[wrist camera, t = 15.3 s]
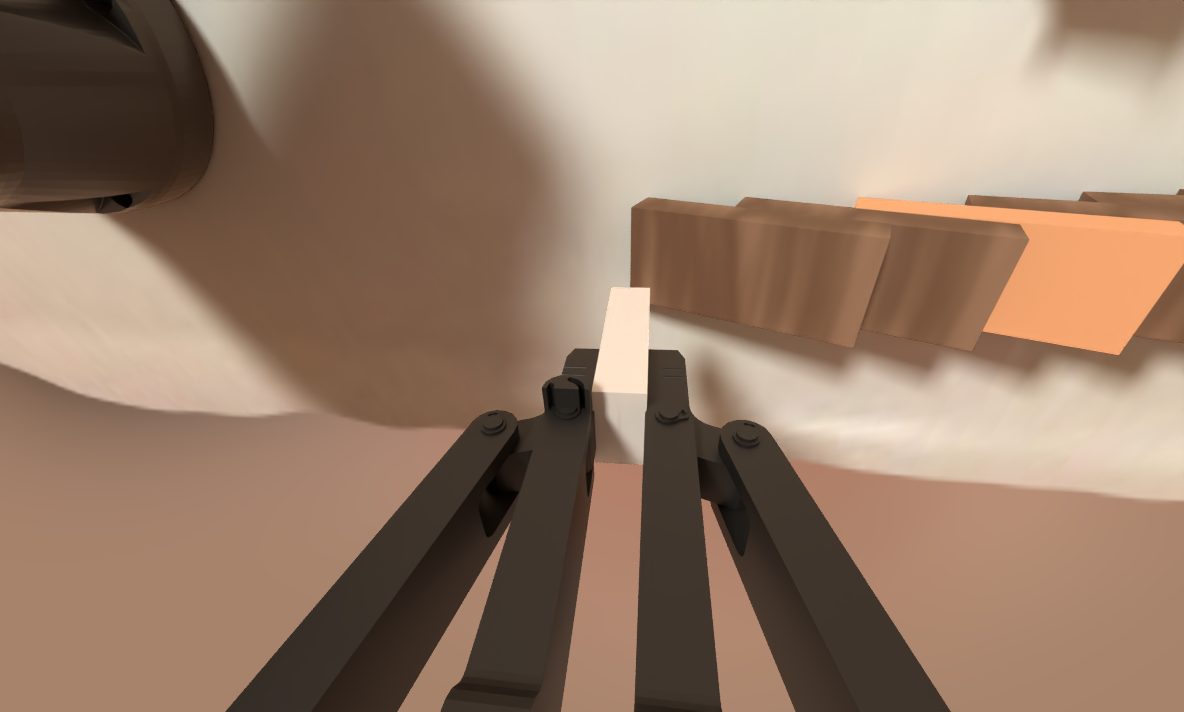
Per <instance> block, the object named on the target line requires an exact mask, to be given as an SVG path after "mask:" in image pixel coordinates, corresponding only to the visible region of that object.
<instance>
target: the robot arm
mask: <svg viewBox="0 0 1184 712" xmlns="http://www.w3.org/2000/svg"><path fill="white" fill-rule="evenodd" d="M212 142H213V116H212V107H211V101H210V96H209V91H208V87H207V83H206V80H205V76H204V73H203V70H202V67H201V64H200V61H199V59H198V56H197V53H196V51H195V49H194V46H193V44H192V42H191V39H190V37H189V35H188V33H187V31H186V29H185V27H184V25H183V23H182V21H181V19H180V17H179V15H178V13H177V12H176V10H175V8H174V7H173V5H172V3H171V1H170V0H0V212H50V213H103V214H107V213H124V212H131V211H136V210H140V209H143V208H147V207H150V206H153V205H157V204H160V203H163V202H166V201H170V200H173V199H175V198H178V197H179V196H181V195H183V194H185V193H186V192H187V191H189V190H190V189H191V188H192V187H193V186H194V185H195V184H196V183H197V182H198V181H199V179H200V178H201V176H202V175H203V173H204V171H205V169H206V167H207V164H208V161H209V158H210V154H211V150H212ZM649 309H650V288H626V287H611V292H610V298H609V303H608V308H607V313H606V319H605V324H604V329H603V334H602V340H601V345H600V349H574V350H573V351H572V352H571V353H570V354H569V355H568V356H567V358H566V362H565V365H564V368H563V372H562V375H560V376H557V377H554V378H551V379H550V380H548V381H547V382H545V384H544V385H543V387H542V392H543V400H544V407H545V412H544V413H543V414H542V415H539V416H537V417H534V418H530V419H525V420H520V421H517V419H516V417H515V416H514V415H513V414H512V413H509V412H507V411H499V410H496V411H491V412H487V413H485V414H482V415H480V416H479V417H478V418H476V419H475V420H474V421H473V422H472V423H471V424H470V426H469V427H468V428H467V429H466V430H465V431H464V433H463V434H462V435H461V436H460V437H459V438H458V440H457V441H456V442H455V443H454V444H453V446H452V447H451V448H450V449H449V450H448V451H447V453H446V454H445V455H444V456H443V457H442V459H441V460H440V461H439V462H438V463H437V464H436V465H435V467H434V468H433V469H432V470H431V471H430V472H429V474H428V475H427V476H426V477H425V478H424V479H423V481H422V482H421V483H420V484H419V485H418V486H417V488H416V489H415V490H414V491H413V492H412V494H411V495H410V496H409V497H408V498H407V500H406V501H405V502H404V503H403V504H402V505H401V506H400V508H399V509H398V510H397V511H396V512H395V513H394V515H393V516H392V517H391V518H390V519H389V520H388V522H387V523H386V524H385V525H384V526H383V528H382V529H381V530H380V531H379V532H378V533H377V535H376V536H375V537H374V538H373V539H372V541H371V542H370V543H369V544H368V545H367V546H366V548H365V549H364V550H363V551H362V552H361V553H360V555H359V556H358V557H357V558H356V559H355V560H354V562H353V563H352V564H351V565H350V566H349V567H348V569H347V570H346V571H345V572H344V573H343V575H342V576H341V577H340V578H339V579H338V580H337V582H336V583H335V584H334V585H333V586H332V587H331V589H330V590H329V591H328V592H327V593H326V595H325V596H324V597H323V598H322V599H321V600H320V601H319V603H318V604H317V605H316V606H315V607H314V608H313V610H312V611H311V612H310V613H309V614H308V616H307V617H306V618H305V619H304V620H303V622H301V624H300V625H299V626H298V627H297V628H296V630H295V631H294V632H293V633H292V634H291V635H290V637H289V638H288V639H287V640H286V641H285V642H284V644H283V645H282V646H281V647H280V648H279V649H278V651H277V652H276V653H275V654H274V655H273V656H272V658H271V659H270V660H269V661H268V662H267V664H266V665H265V666H264V667H263V668H262V669H261V671H260V672H259V673H258V674H257V675H256V677H255V678H254V679H253V680H252V681H251V682H250V683H249V685H248V686H247V687H246V688H245V689H244V691H243V692H242V693H241V694H240V695H239V696H238V698H237V699H236V700H235V701H234V702H233V704H232V705H231V706H230V707H229V708H228V709H227V710H226V712H397V711H398V710H399V708H400V706H401V704H402V703H403V701H404V699H405V698H406V696H407V694H408V693H409V691H410V689H411V688H412V686H413V684H414V683H415V681H416V679H417V678H418V676H419V674H420V672H421V671H422V669H423V668H424V666H425V664H426V663H427V661H428V659H429V658H430V656H431V654H432V653H433V651H434V649H435V648H436V646H437V644H438V642H439V641H440V639H441V637H442V636H443V634H444V632H445V631H446V629H447V627H448V626H449V624H450V622H451V621H452V619H453V617H454V616H455V614H456V612H457V611H458V609H459V607H460V605H461V604H462V602H463V600H464V599H465V597H466V595H467V594H468V592H469V590H470V589H471V587H472V585H473V584H474V582H475V580H476V579H477V577H478V575H479V574H480V572H481V570H482V569H483V567H484V565H485V564H486V562H487V560H488V558H489V557H490V555H491V554H492V552H493V550H494V548H495V547H496V545H497V543H498V542H499V540H500V538H501V537H502V535H503V533H504V532H505V530H506V528H507V527H508V525H509V523H510V522H511V523H510V527H509V530H508V533H507V536H506V540H505V543H504V546H503V550H502V553H501V556H500V559H499V562H498V566H497V569H496V573H495V576H494V579H493V582H492V585H491V589H490V592H489V595H488V599H487V602H486V605H485V609H484V612H483V615H482V618H481V621H480V625H479V628H478V631H477V634H476V638H475V641H474V644H473V648H472V651H471V654H470V657H469V661H468V664H467V667H466V670H465V673H464V676H463V678H462V679H461V681H460V682H459V683H458V684H457V685H455V686H454V687H453V688H452V689H451V690H450V692H449V694H448V695H447V697H446V699H445V701H444V704H443V707H442V709H441V712H561V706H562V699H563V692H564V685H565V678H566V671H567V664H568V657H569V650H570V643H571V636H572V629H573V622H574V615H575V608H576V601H577V594H578V587H579V580H580V573H581V566H582V559H583V552H584V545H585V538H586V531H587V524H588V516H589V510H590V503H591V496H592V489H593V482H594V458H595V460H596V462H604V463H620V464H638V465H643V484H642V485H643V486H642V512H641V540H640V567H639V595H638V623H637V651H636V652H637V653H636V678H635V704H634V712H722V709H721V702H720V693H719V682H718V672H717V662H716V652H715V640H714V630H713V620H712V609H711V599H710V589H709V578H708V567H707V557H706V547H705V538H704V537H705V536H704V526H703V515H702V505H701V498H702V499H705V500H708V501H710V502H711V507H712V509H713V511H714V514H715V516H716V519H717V521H718V524H719V526H720V529H721V531H722V533H723V536H724V538H725V541H726V543H727V546H728V548H729V550H730V553H731V555H732V558H733V560H734V563H735V565H736V568H737V570H738V572H739V575H740V577H741V580H742V582H743V584H744V587H745V589H746V592H747V594H748V597H749V599H750V601H751V604H752V607H753V609H754V611H755V614H756V616H757V619H758V621H759V624H760V626H761V628H762V631H763V633H764V636H765V638H766V641H767V643H768V646H769V647H770V650H771V653H772V655H773V658H774V660H775V663H776V665H777V667H778V670H779V672H780V674H781V677H782V680H783V682H784V684H785V687H786V689H787V692H788V694H789V697H790V699H791V701H792V704H793V706H794V709H795V711H796V712H951V711H950V710H949V708H948V707H947V705H946V704H945V702H944V701H943V699H942V698H941V696H940V695H939V693H938V691H937V690H936V688H935V687H934V685H933V684H932V682H931V680H930V679H929V677H928V676H927V674H926V673H925V671H924V670H923V668H922V667H921V665H920V664H919V662H918V660H917V659H916V657H915V656H914V654H913V653H912V651H911V650H910V648H909V647H908V645H907V644H906V642H905V640H904V639H903V637H902V636H901V634H900V633H899V631H898V630H897V628H896V626H895V625H894V623H893V622H892V620H891V619H890V617H889V616H888V614H887V613H886V611H885V610H884V608H883V606H882V605H881V603H880V602H879V600H878V599H877V597H876V596H875V594H874V592H873V591H872V590H871V588H870V586H869V585H868V583H867V582H866V580H865V579H864V577H863V575H862V574H861V572H860V571H859V569H858V568H857V566H856V565H855V563H854V562H853V560H852V559H851V557H850V556H849V554H848V552H847V551H846V549H845V548H844V546H843V545H842V543H841V542H840V540H839V538H838V537H837V535H836V534H835V533H834V531H833V529H832V528H831V526H830V525H829V523H828V521H827V520H826V518H825V517H824V515H823V514H822V512H821V511H820V509H819V508H818V506H817V504H816V503H815V501H814V500H813V498H812V497H811V495H810V494H809V492H808V491H807V489H806V488H805V486H804V485H803V483H802V481H801V480H800V478H799V477H798V475H797V474H796V472H795V471H794V469H793V468H792V466H791V464H790V463H789V461H788V460H787V458H786V457H785V455H784V454H783V452H782V450H781V449H780V447H779V446H778V444H777V443H776V441H775V440H774V438H773V437H772V435H771V434H770V433H769V432H768V431H767V430H766V428H764V427H763V426H761V425H759V424H757V423H754V422H751V421H747V420H736V421H732V422H728V423H727V424H726V425H724V426H723V427H722V429H720V428H717V427H713V426H710V425H707V424H705V423H703V422H701V421H699V420H698V419H697V418H696V417H695V416H694V415H693V414H692V412H691V411H690V407H689V398H688V387H687V379H686V377H687V376H686V365H685V359H684V357H683V356H682V355H681V354H680V352H679V351H678V350H649V349H648V347H649Z"/></svg>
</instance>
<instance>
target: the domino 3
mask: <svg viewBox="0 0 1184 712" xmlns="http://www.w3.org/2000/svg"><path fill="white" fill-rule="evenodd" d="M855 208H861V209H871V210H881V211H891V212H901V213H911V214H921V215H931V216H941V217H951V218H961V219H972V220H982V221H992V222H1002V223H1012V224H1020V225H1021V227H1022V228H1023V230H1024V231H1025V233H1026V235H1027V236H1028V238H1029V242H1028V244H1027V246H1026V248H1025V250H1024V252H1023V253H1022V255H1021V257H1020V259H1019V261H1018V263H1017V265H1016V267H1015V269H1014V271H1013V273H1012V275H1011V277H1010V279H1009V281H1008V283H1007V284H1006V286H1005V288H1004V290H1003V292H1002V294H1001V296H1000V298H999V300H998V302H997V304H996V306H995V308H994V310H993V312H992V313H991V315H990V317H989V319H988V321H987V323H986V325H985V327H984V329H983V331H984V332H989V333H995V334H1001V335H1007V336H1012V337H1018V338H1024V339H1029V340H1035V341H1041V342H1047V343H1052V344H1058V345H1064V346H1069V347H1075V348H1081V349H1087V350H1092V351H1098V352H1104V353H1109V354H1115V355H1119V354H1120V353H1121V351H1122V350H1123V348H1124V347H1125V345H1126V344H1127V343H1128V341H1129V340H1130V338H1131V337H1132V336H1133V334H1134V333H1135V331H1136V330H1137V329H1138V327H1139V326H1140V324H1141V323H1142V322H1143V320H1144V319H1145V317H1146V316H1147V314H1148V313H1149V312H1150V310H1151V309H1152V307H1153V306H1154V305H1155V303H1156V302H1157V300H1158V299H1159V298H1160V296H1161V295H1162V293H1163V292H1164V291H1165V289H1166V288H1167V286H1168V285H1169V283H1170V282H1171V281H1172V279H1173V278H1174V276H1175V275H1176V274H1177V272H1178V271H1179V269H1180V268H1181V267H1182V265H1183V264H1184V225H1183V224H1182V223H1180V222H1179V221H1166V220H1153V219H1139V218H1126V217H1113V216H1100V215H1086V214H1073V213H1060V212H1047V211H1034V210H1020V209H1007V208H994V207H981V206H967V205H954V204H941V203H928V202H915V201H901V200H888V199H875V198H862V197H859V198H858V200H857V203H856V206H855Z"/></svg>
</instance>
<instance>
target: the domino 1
mask: <svg viewBox="0 0 1184 712" xmlns="http://www.w3.org/2000/svg"><path fill="white" fill-rule="evenodd" d="M890 235H891V224H889V223H880V222H871V221H861V220H852V219H843V218H833V217H824V216H815V215H806V214H796V213H787V212H778V211H769V210H759V209H750V208H741V207H732V206H722V205H713V204H704V203H695V202H685V201H676V200H667V199H658V198H646V199H645V200H643V201H641V202H640V203H638V204H636V205H635V206H633V207H632V208H631V281H630V288H650V304H653V305H658V306H662V307H667V308H671V309H676V310H681V311H685V312H690V313H694V314H699V315H704V316H708V317H713V318H717V319H722V320H727V321H731V322H736V323H740V324H745V325H750V326H754V327H759V328H763V329H768V330H772V331H777V332H782V333H786V334H791V335H795V336H800V337H805V338H809V339H814V340H818V341H823V342H828V343H832V344H837V345H841V346H846V347H851V348H853V347H854V344H855V341H856V338H857V335H858V332H859V329H860V326H861V323H862V320H863V318H864V315H865V312H866V309H867V306H868V303H869V300H870V297H871V294H872V291H873V288H874V285H875V282H876V279H877V276H878V273H879V270H880V267H881V264H882V261H883V258H884V256H885V253H886V250H887V247H888V244H889V241H890Z"/></svg>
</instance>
